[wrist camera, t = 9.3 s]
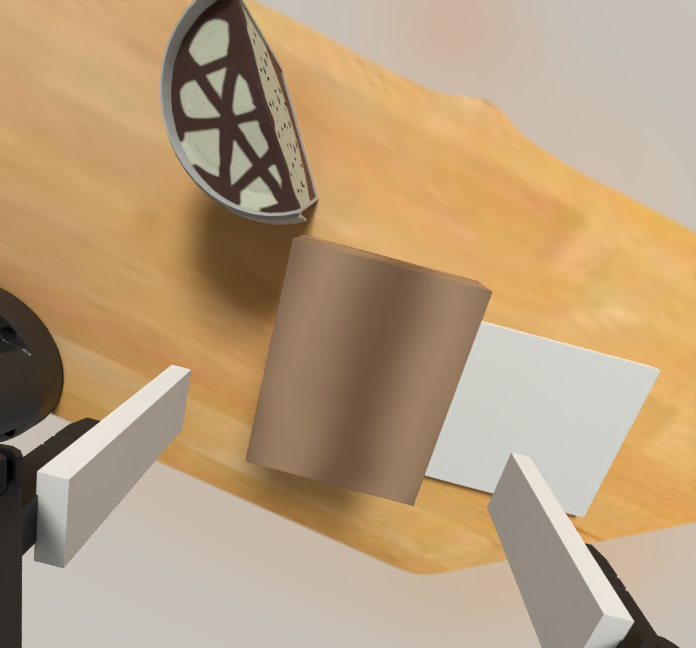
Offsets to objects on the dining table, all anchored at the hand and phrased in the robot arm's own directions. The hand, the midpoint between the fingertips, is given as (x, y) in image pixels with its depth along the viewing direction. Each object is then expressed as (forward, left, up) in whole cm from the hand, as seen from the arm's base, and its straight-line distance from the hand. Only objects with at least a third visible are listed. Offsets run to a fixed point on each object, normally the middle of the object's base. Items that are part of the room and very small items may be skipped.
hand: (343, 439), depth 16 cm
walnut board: (0, 0, -9) cm, 9 cm away
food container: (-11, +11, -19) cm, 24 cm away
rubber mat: (+16, -5, -18) cm, 25 cm away
